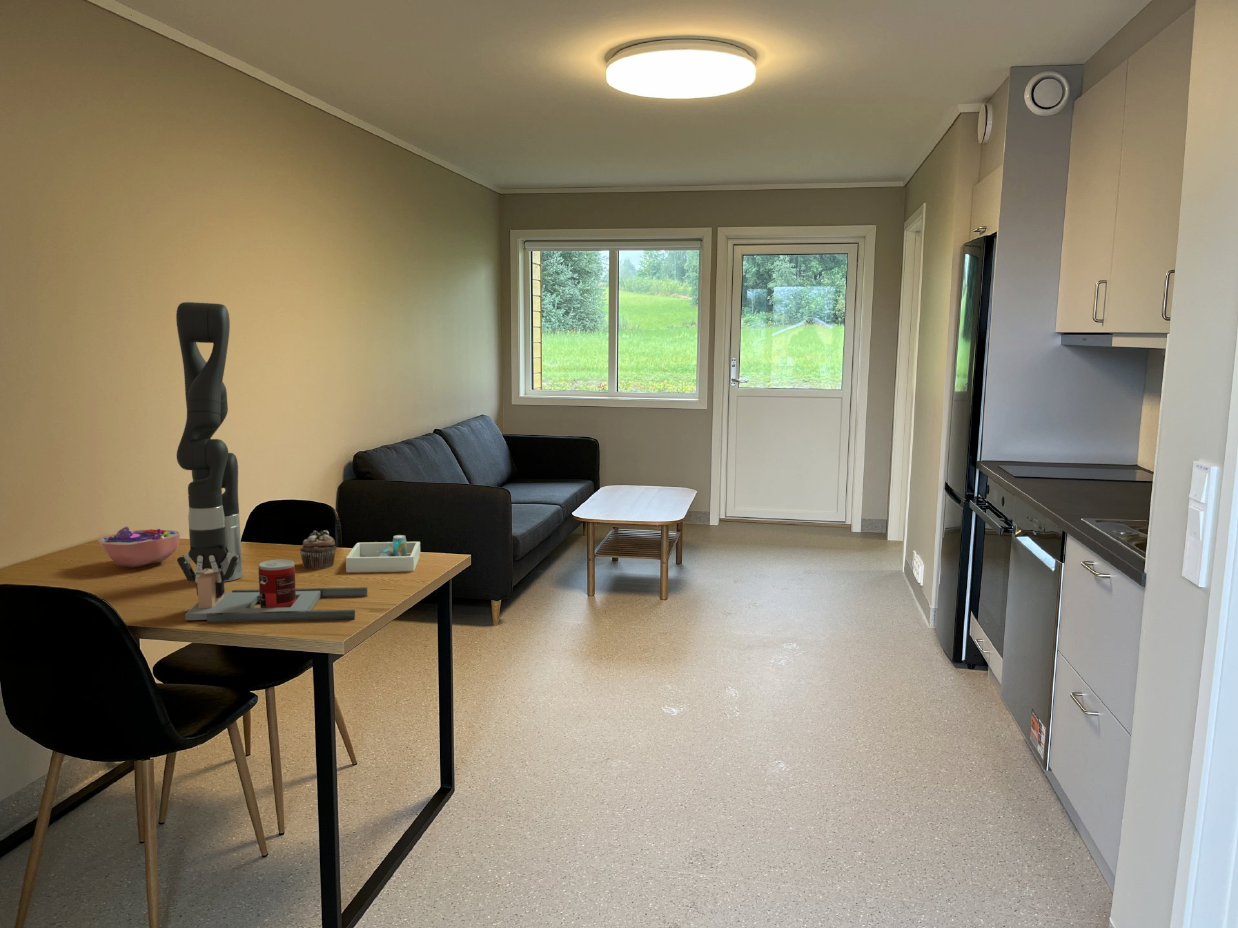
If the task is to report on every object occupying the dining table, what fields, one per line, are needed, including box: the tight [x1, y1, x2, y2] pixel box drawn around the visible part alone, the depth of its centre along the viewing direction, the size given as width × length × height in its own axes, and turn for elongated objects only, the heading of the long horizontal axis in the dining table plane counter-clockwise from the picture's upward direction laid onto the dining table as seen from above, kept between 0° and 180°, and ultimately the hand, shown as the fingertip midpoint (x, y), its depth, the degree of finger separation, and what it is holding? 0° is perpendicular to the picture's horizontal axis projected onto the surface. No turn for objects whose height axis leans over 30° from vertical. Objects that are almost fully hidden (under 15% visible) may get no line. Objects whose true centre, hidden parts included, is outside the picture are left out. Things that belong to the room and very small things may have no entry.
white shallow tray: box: [345, 541, 421, 573], centre depth 248 cm, size 18×18×4 cm
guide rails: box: [206, 586, 369, 624], centre depth 207 cm, size 32×19×2 cm, turn 97°
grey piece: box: [185, 569, 322, 621], centre depth 205 cm, size 26×16×8 cm, turn 97°
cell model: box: [98, 526, 181, 568], centre depth 242 cm, size 17×20×11 cm
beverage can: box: [377, 534, 407, 557], centre depth 248 cm, size 12×12×8 cm
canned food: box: [257, 558, 297, 608], centre depth 206 cm, size 8×8×11 cm
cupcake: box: [299, 529, 337, 570], centre depth 244 cm, size 10×10×10 cm
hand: (211, 597), depth 204 cm, fingers closed on grey piece, 3 cm apart
